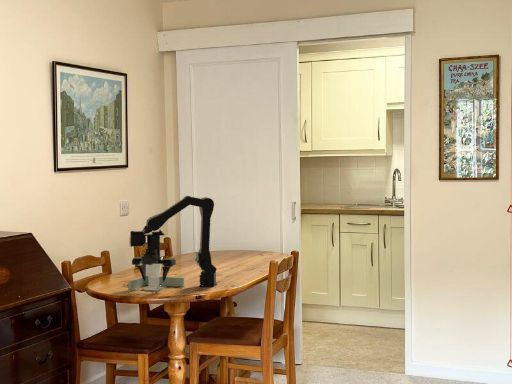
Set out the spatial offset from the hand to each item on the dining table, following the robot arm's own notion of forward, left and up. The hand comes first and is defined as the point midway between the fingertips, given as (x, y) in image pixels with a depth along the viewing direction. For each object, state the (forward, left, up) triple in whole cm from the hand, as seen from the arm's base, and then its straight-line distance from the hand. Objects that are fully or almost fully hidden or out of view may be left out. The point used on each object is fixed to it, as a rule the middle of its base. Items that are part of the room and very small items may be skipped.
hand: (154, 280), depth 298 cm
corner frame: (-1, 0, -3) cm, 4 cm away
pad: (0, 0, -3) cm, 3 cm away
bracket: (0, +2, -3) cm, 4 cm away
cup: (+8, -17, -4) cm, 19 cm away
